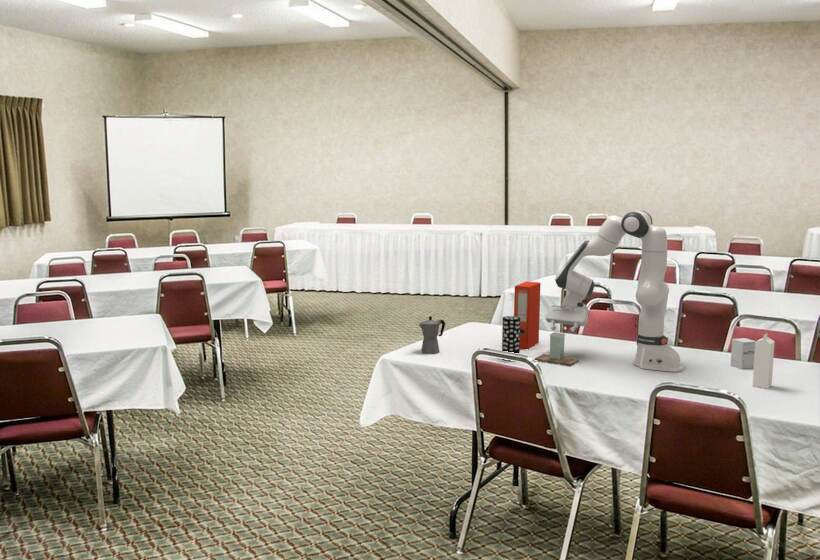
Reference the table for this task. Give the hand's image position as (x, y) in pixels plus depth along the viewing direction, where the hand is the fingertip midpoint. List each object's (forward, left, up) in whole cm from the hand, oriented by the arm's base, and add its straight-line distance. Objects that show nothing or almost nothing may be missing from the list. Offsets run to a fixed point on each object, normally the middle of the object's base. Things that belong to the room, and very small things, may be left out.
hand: (562, 330), depth 348 cm
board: (0, +5, -14) cm, 15 cm away
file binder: (+26, -16, -14) cm, 34 cm away
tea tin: (0, +5, -13) cm, 14 cm away
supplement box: (-74, -33, -14) cm, 82 cm away
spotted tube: (+20, +13, -14) cm, 28 cm away
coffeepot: (+59, +22, -14) cm, 65 cm away
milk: (-87, -5, -14) cm, 88 cm away
